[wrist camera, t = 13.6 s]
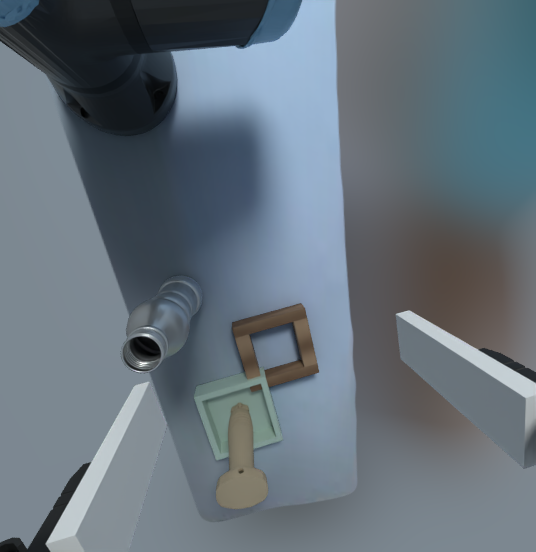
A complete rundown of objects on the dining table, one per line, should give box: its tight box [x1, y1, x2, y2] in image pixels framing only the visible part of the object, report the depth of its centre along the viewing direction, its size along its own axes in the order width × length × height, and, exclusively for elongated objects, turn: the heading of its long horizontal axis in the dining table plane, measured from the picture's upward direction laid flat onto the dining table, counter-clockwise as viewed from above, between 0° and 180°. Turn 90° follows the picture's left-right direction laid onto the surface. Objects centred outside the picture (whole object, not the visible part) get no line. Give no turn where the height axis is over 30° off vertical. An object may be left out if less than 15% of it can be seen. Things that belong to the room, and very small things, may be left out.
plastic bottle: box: [121, 276, 203, 373], centre depth 33 cm, size 6×7×20 cm
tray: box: [194, 367, 283, 461], centre depth 47 cm, size 13×12×3 cm
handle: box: [216, 403, 268, 509], centre depth 41 cm, size 5×6×15 cm
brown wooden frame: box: [232, 303, 319, 392], centre depth 46 cm, size 12×12×2 cm
